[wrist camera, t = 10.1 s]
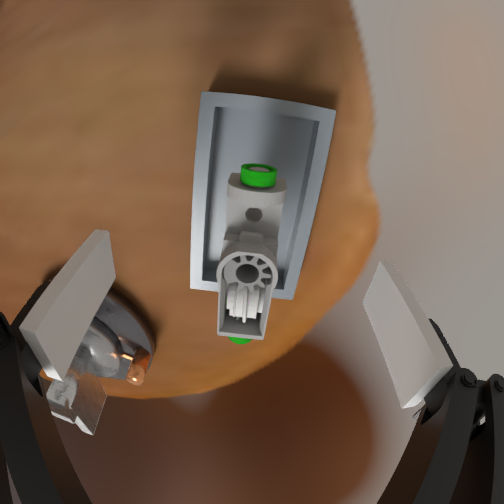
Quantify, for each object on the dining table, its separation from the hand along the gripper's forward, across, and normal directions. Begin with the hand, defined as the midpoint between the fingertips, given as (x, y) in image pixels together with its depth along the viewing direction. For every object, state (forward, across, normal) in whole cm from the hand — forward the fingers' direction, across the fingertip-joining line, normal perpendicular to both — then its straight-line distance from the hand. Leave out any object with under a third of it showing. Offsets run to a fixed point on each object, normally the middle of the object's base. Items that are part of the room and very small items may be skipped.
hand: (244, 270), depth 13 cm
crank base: (+11, -17, -20) cm, 28 cm away
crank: (+9, -17, -22) cm, 29 cm away
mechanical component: (+10, +1, -1) cm, 11 cm away
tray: (+11, +1, 0) cm, 11 cm away
